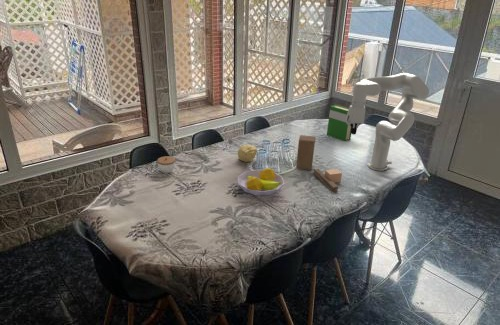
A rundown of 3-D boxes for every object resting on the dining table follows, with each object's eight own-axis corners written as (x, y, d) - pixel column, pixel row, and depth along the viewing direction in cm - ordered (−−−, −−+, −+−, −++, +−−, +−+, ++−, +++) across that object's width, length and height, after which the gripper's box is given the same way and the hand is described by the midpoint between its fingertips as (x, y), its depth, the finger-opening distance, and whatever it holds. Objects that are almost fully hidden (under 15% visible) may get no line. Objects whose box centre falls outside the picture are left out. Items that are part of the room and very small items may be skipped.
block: (335, 177, 227) (336, 168, 224) (340, 182, 222) (341, 173, 219) (324, 178, 224) (325, 170, 222) (328, 183, 219) (330, 174, 217)
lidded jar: (179, 171, 226) (178, 157, 222) (164, 176, 218) (163, 162, 214) (169, 165, 232) (168, 152, 228) (154, 170, 225) (153, 157, 221)
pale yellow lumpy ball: (245, 165, 237) (246, 150, 233) (234, 159, 245) (234, 144, 241) (258, 160, 244) (259, 146, 240) (247, 155, 252) (247, 140, 248)
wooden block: (311, 170, 234) (314, 141, 226) (295, 168, 236) (298, 139, 227) (312, 164, 243) (315, 136, 235) (297, 162, 245) (300, 134, 236)
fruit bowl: (230, 182, 215) (230, 165, 210) (271, 175, 225) (272, 159, 220) (248, 206, 192) (249, 187, 187) (293, 197, 202) (295, 179, 197)
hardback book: (350, 139, 288) (355, 109, 278) (345, 141, 284) (349, 111, 274) (332, 133, 300) (336, 104, 290) (326, 134, 295) (330, 106, 285)
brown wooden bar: (318, 173, 231) (318, 168, 230) (337, 191, 211) (338, 186, 209) (313, 173, 230) (314, 169, 229) (332, 191, 210) (333, 187, 208)
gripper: (365, 101, 218) (360, 130, 226) (343, 103, 214) (339, 132, 222) (372, 105, 212) (367, 134, 219) (350, 106, 207) (345, 136, 215)
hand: (353, 133), depth 221 cm, fingers closed
